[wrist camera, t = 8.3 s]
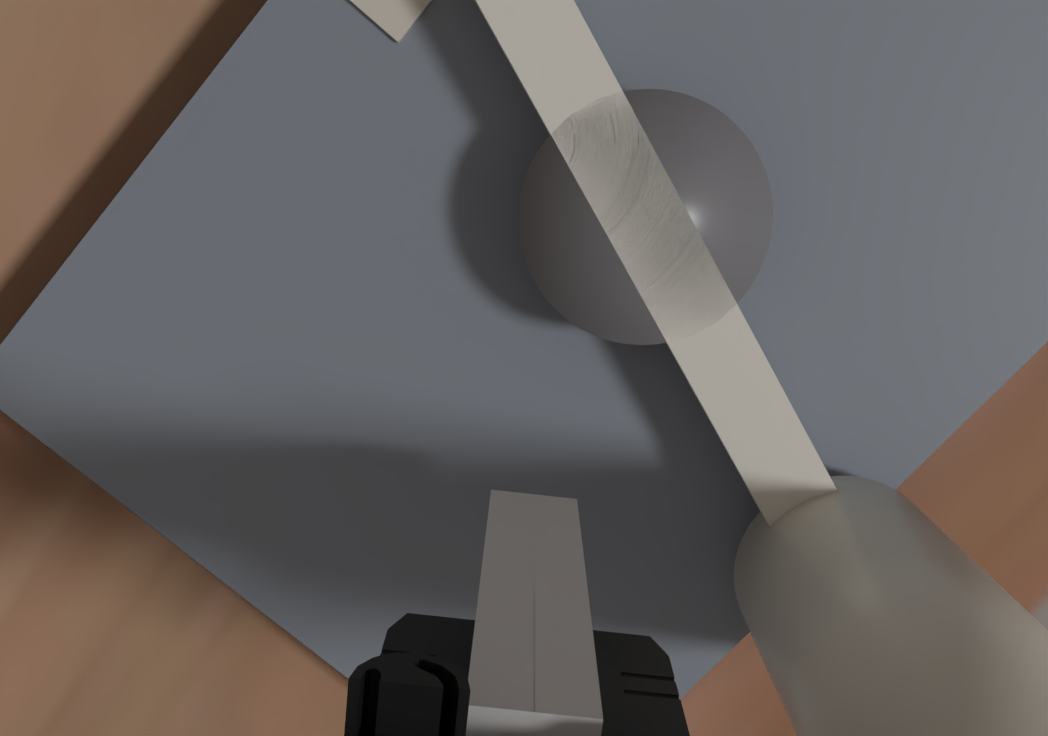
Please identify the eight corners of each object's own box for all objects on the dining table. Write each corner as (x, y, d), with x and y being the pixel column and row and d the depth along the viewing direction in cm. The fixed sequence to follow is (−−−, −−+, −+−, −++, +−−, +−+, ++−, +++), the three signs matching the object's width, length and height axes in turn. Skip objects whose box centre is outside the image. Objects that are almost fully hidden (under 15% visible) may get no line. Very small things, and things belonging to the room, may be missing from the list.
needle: (274, -172, 16) (-107, -643, 7) (501, -323, 16) (457, -1080, 6) (780, 700, 20) (1023, 1240, 10) (979, 600, 19) (1437, 1068, 10)
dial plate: (740, -597, 16) (758, -659, 15) (1315, 36, 19) (1372, 28, 17) (-8, 364, 20) (-44, 379, 19) (544, 794, 22) (544, 834, 21)
